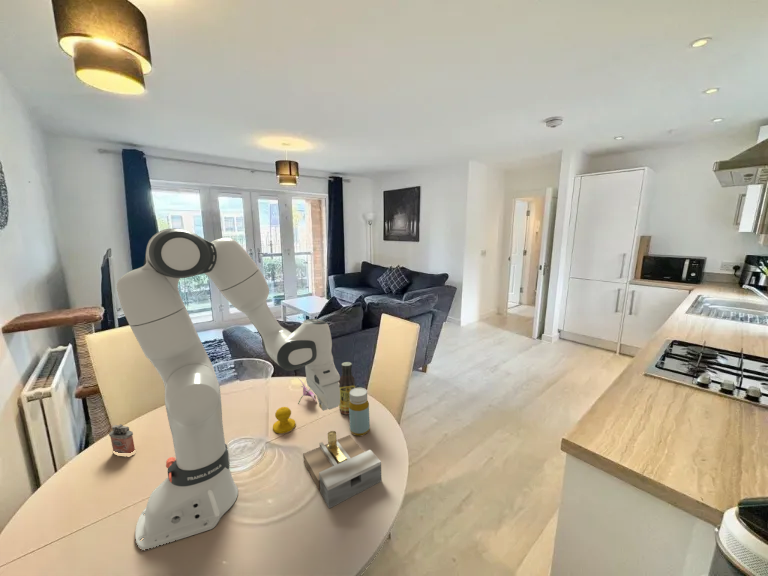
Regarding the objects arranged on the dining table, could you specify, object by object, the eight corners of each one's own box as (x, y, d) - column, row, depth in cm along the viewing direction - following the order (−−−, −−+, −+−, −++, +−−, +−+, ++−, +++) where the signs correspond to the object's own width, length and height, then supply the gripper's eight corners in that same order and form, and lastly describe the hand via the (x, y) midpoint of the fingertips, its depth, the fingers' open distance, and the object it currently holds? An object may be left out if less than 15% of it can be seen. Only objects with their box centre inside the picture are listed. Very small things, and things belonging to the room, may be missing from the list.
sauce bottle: (340, 416, 121) (337, 368, 117) (338, 408, 127) (335, 361, 123) (357, 413, 123) (355, 366, 119) (354, 405, 129) (352, 359, 125)
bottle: (367, 437, 108) (365, 397, 105) (347, 435, 109) (345, 396, 107) (371, 425, 115) (370, 387, 112) (353, 423, 116) (351, 386, 113)
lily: (311, 414, 125) (321, 390, 126) (284, 403, 125) (294, 380, 127) (316, 407, 137) (325, 385, 138) (291, 396, 137) (300, 375, 138)
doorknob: (278, 436, 110) (269, 426, 116) (299, 427, 115) (289, 418, 121) (276, 417, 109) (267, 408, 114) (297, 408, 114) (288, 400, 120)
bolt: (327, 449, 98) (326, 432, 96) (334, 446, 99) (333, 429, 98) (339, 467, 90) (338, 448, 89) (347, 463, 91) (346, 445, 90)
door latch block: (303, 462, 97) (302, 444, 96) (350, 442, 106) (349, 425, 104) (329, 508, 80) (327, 487, 79) (381, 481, 89) (380, 461, 88)
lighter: (109, 455, 103) (104, 427, 101) (120, 448, 106) (115, 421, 104) (128, 458, 101) (123, 430, 99) (139, 451, 104) (134, 424, 102)
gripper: (299, 360, 106) (303, 397, 109) (322, 383, 89) (326, 427, 92) (317, 355, 109) (320, 392, 112) (342, 377, 92) (345, 419, 95)
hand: (323, 408), depth 102 cm, fingers closed
